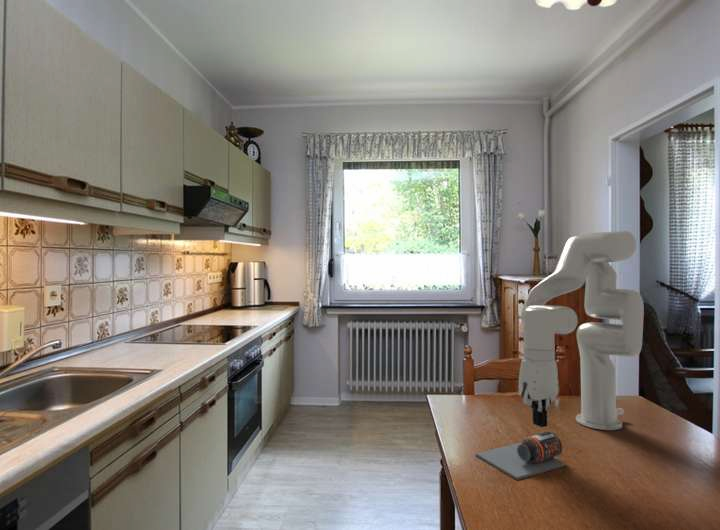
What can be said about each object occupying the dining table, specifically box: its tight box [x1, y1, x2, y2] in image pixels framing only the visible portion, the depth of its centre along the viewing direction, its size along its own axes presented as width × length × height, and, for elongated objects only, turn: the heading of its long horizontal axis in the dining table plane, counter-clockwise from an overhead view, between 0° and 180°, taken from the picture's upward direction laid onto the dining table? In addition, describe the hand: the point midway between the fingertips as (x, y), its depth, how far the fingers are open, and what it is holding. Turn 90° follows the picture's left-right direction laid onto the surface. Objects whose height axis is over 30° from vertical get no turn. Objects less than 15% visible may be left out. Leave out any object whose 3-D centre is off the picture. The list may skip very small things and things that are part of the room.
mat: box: [475, 441, 566, 481], centre depth 105 cm, size 16×14×1 cm
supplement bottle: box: [517, 431, 563, 463], centre depth 104 cm, size 6×6×11 cm
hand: (540, 425), depth 108 cm, fingers closed
